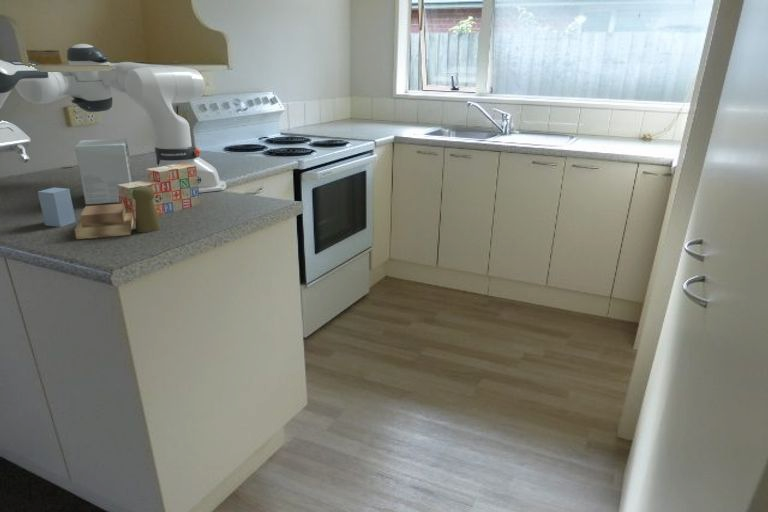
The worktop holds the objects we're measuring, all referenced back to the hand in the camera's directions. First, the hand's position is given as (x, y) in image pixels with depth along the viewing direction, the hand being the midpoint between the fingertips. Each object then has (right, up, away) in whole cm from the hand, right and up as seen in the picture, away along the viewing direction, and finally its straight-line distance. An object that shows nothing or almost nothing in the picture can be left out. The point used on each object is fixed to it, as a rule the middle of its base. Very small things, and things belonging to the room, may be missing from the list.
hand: (11, 164), depth 137 cm
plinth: (+26, -17, -2) cm, 31 cm away
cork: (+36, -17, 0) cm, 40 cm away
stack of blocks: (+33, -11, +16) cm, 38 cm away
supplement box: (+12, -6, +28) cm, 31 cm away
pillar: (+11, -15, +3) cm, 19 cm away
